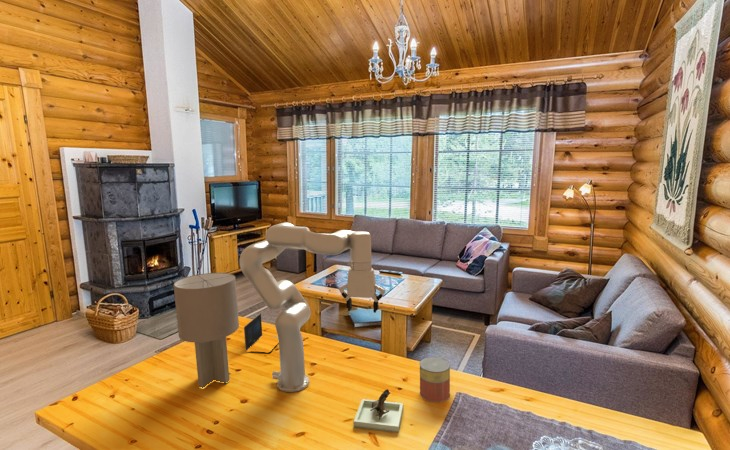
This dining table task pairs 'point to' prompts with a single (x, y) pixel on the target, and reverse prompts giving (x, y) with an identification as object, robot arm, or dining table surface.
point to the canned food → (435, 379)
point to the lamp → (207, 321)
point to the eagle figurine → (380, 404)
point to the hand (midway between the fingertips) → (362, 310)
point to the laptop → (253, 331)
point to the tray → (371, 421)
